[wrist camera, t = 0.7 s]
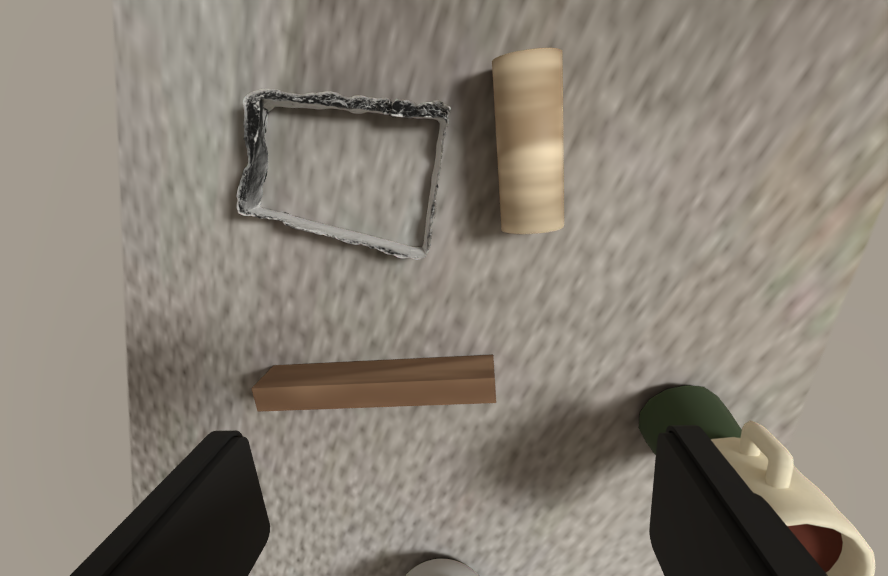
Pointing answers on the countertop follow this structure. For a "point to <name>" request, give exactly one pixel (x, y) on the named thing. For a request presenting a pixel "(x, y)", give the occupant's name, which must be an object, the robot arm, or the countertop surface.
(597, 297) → the countertop surface
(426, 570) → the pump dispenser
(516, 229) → the roller
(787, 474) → the character mug
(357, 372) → the stop rail
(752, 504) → the robot arm
